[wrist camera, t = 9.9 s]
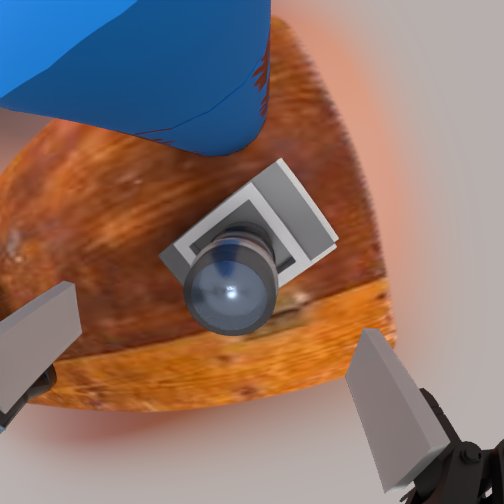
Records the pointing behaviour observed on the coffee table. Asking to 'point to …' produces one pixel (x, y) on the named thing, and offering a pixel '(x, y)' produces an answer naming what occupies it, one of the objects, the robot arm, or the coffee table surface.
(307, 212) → the grey square frame
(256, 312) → the lens
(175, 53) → the thermos
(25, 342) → the robot arm
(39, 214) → the coffee table surface
